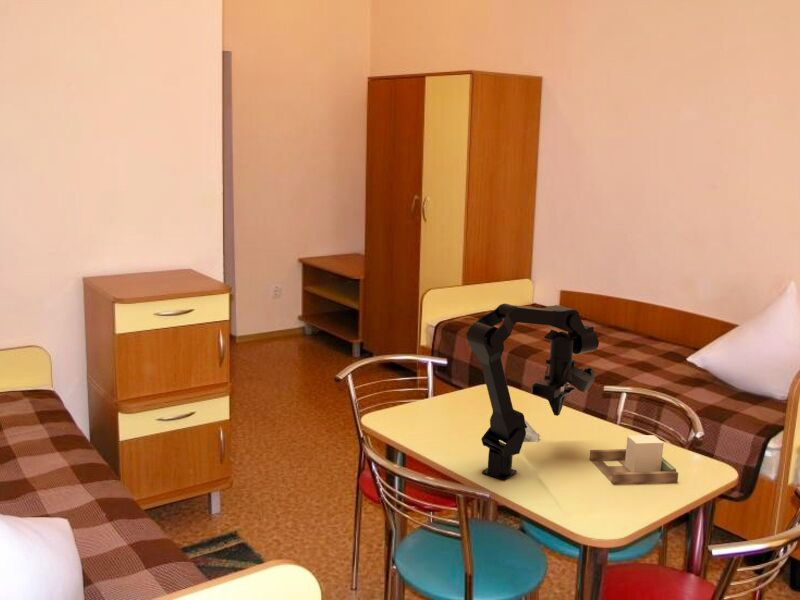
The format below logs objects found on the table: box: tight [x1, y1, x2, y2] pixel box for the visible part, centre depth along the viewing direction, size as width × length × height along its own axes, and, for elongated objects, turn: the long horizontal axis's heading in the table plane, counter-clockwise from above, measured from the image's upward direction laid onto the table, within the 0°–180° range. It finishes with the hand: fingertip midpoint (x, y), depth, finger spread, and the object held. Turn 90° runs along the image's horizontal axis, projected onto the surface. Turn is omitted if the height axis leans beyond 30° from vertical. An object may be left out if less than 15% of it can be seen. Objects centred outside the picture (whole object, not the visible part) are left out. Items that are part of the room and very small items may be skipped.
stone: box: [523, 419, 541, 443], centre depth 216 cm, size 6×12×4 cm, turn 168°
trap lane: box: [589, 448, 679, 486], centre depth 192 cm, size 16×15×4 cm
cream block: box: [625, 434, 664, 472], centre depth 192 cm, size 7×5×8 cm
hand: (556, 415), depth 199 cm, fingers closed
